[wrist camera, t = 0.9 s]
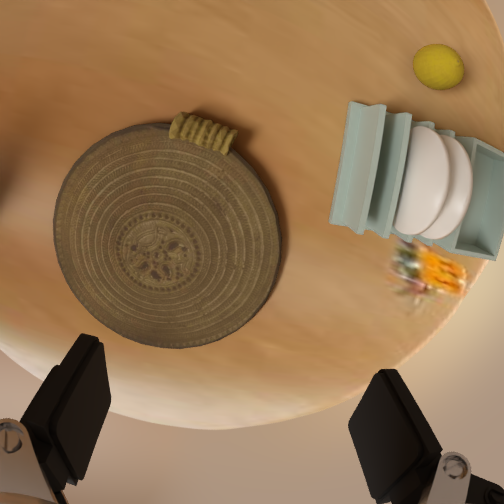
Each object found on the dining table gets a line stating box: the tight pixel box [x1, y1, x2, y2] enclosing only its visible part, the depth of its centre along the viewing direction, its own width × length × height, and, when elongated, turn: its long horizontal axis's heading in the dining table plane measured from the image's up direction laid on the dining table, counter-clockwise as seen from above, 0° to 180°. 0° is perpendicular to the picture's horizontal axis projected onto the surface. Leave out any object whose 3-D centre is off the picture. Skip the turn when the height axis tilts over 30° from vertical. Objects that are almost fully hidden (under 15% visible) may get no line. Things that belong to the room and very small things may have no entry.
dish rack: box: [328, 101, 504, 261], centre depth 28 cm, size 14×24×12 cm, turn 82°
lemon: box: [413, 44, 464, 90], centre depth 25 cm, size 6×6×8 cm
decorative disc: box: [53, 112, 282, 349], centre depth 34 cm, size 29×3×30 cm
